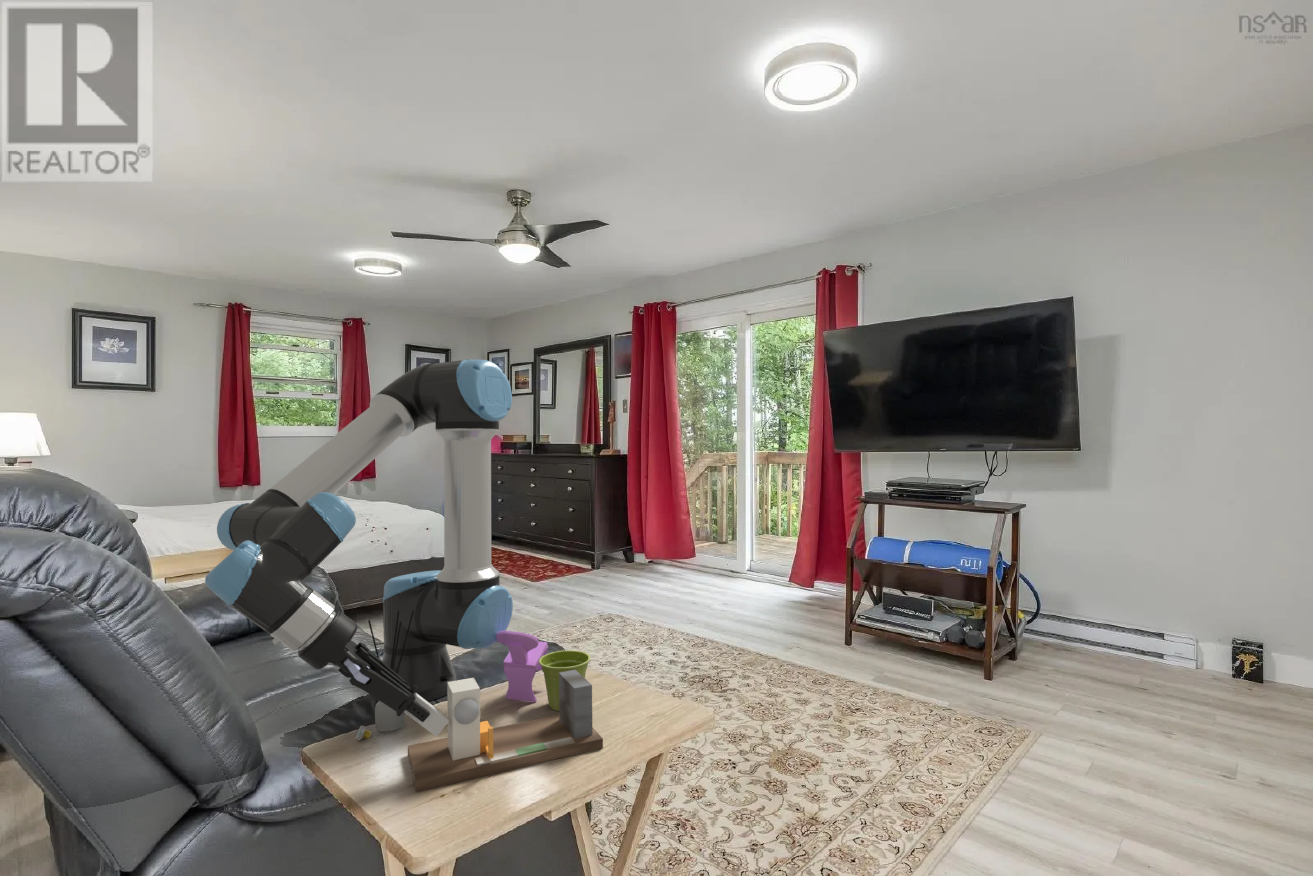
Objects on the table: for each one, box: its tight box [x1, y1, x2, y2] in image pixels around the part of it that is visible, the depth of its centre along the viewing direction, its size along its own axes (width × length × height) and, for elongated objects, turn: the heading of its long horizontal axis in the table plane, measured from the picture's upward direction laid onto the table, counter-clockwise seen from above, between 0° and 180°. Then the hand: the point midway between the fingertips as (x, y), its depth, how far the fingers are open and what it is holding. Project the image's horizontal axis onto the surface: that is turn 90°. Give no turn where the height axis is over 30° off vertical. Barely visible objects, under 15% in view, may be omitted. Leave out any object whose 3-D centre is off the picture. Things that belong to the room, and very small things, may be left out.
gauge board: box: [407, 670, 604, 793], centre depth 101 cm, size 12×28×10 cm, turn 116°
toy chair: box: [496, 630, 549, 703], centre depth 122 cm, size 8×9×15 cm
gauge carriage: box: [446, 677, 481, 760], centre depth 98 cm, size 6×4×10 cm
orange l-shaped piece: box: [480, 720, 494, 759], centre depth 98 cm, size 8×2×5 cm, turn 26°
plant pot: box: [539, 649, 591, 712], centre depth 119 cm, size 9×9×9 cm
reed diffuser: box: [355, 611, 414, 740], centre depth 108 cm, size 10×7×20 cm
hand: (441, 726), depth 96 cm, fingers closed
